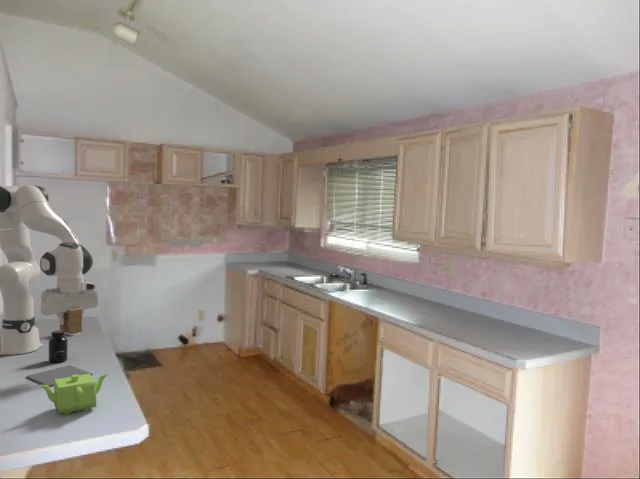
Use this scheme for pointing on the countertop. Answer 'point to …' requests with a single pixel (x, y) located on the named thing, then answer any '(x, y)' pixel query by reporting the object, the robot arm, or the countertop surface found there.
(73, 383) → the teapot
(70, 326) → the slab
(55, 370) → the mat
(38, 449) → the countertop surface
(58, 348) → the supplement bottle
